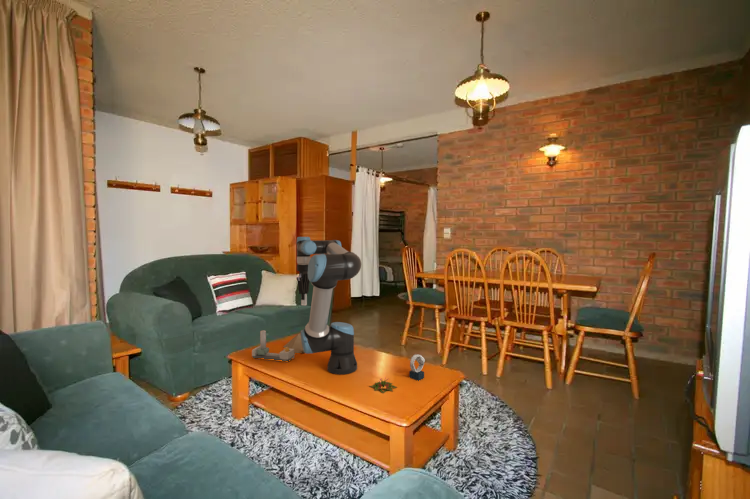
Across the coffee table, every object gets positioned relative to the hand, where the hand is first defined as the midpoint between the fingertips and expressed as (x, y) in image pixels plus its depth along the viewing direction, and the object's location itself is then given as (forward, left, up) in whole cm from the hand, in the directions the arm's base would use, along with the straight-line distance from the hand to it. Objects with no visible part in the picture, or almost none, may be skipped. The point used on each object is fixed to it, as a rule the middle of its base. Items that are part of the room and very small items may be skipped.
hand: (304, 305), depth 190 cm
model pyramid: (+10, 0, -29) cm, 31 cm away
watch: (-58, -36, -29) cm, 74 cm away
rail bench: (+3, +17, -28) cm, 33 cm away
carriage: (+7, +21, -27) cm, 35 cm away
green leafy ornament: (-58, -17, -29) cm, 67 cm away
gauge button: (-3, +11, -26) cm, 28 cm away
